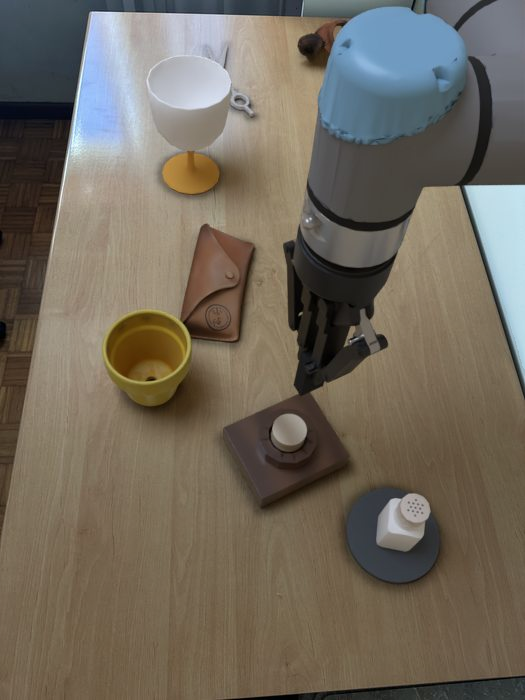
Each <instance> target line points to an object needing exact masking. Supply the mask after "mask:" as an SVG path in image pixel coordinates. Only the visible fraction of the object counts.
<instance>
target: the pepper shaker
mask: <svg viewBox="0 0 525 700" xmlns="http://www.w3.org/2000/svg"><path fill="white" fill-rule="evenodd" d="M430 512H431V506H430V503H429V501H428V500H427V499H426V498H425V497H424V496H423V495H420V494H419V493H415V492H414V493H409V494H408V495H406V496H405V497H403V498H402V499H398V498H394V499H391V500H390V501H389V502H388V504H387V505H386V506H385V508H384V509H383V510H382V512H381V513H380V514H379V516H378V524H377V536H376V542H377V545H379V546H380V547H385V548H390V549H395V550H400V551H405V552H406V551H409V550H410V549H411V548H412V547H413V546H414V545H415V544H416V543H417V542H418V541H419V540H421V539H422V537H423V535H424V528H425V521H426V520H427V519H428V517H429V514H430Z"/></svg>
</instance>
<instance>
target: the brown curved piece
mask: <svg viewBox="0 0 525 700" xmlns="http://www.w3.org/2000/svg"><path fill="white" fill-rule="evenodd" d="M347 22H349V20H345V19H337V20H335V21H333V22H332V21H331V22H326V23H324V24H322V25H321V26H319V27H318V28H317V29H316V30H315V31H314V33H307V34H305V35H302V36H301V37H299V39H298V42H297V45H296V46H297V49H298V51H299V53H300V54H301V55H302V56H304V57H305V58H306V59H307V60H308V62H310V63H311V62H313V60H314V58H315V56H316V54H317V53H319V52H320V51H321V50H322V48H324V50H326V52H328V54H329V55H330V53H331V49H332V46H333V43H334V41H335V38H334V37H335V36H334V31H335V28H337V27H340V29H342V27H343V26H344V25H345V24H346V23H347ZM323 46H324V47H323Z"/></svg>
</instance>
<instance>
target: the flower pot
mask: <svg viewBox="0 0 525 700" xmlns="http://www.w3.org/2000/svg"><path fill="white" fill-rule="evenodd" d="M192 344H193V343H192V337H190V334H189V332H188V330H187V328H186V327H185V325H184V324H183V323H182V322H181V321H180V318H178V317H176V316H175V315H173V314H172V313H170V312H167V311H165V310H160V309H155V308H154V309H153V308H142V309H137V310H133V311H129V312H128V313H126V314H124V315H122V316H120V317H119V318H117V320H115V321H114V322H113V323H112V324H111V325H110V327H109V328H108V330H107V331H106V333H105V334H104V337H103V340H102V346H101V354H102V360H103V364H104V368H105V370H106V373H107V375H108V377H109V379H110V380H111V381H112V382H113V384H115V385H116V386H117V387H118V388H119V389H121V390H122V391H124V392H125V393H126V394H127V395H128V397H129V398H130V400H131V401H133V402H135V403H136V404H138V405H141V406H144V407H156V406H161V405H163V404H165V403H167V402H168V401H169V400H170V399H171V398H172V397H173V396H174V395H175V393H176V391H177V389H178V386H179V384H181V382H183V380H184V379H185V378H186V376H187V374H188V373H189V370H190V368H191V363H192V357H193V355H192V354H193V345H192Z"/></svg>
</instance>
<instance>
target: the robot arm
mask: <svg viewBox="0 0 525 700" xmlns="http://www.w3.org/2000/svg"><path fill="white" fill-rule="evenodd" d="M419 1H420V5H421V11H422V14H420V13H416V12H414V11H413V10H412V8H410V7H406V6H382V7H377V8H371V9H369V10H365V11H364V12H361V13H359V14H357V15H355V16H354V17H352V18H351V19H349V20H348V22H347V23H346V24H345V25H344V26H343V27H342V26H341V27H342V28H340V30H339V31H338V33H337V35H336V37H335V38H334V40H335V41H334V43H333V46H332V49H331V53H330V54H329V56H328V59H327V63H326V67H325V70H324V71H325V72H324V76H323V80H322V85H321V86H320V89H319V92H318V96H317V102H316V103H317V115H316V121H315V129H314V136H313V143H312V149H311V155H310V156H311V157H310V163H309V168H308V173H307V179H306V186H305V191H304V196H303V200H302V201H303V202H302V207H301V213H300V219H299V224H298V227H297V232H296V238H294V239H291V240H288V241H286V242H283V244H282V249H283V254H284V259H285V264H286V288H287V290H286V291H287V323H288V328H289V329H290V330H291V332H297V337H296V343H297V346H298V350H297V355H296V356H297V360H298V363H297V366H296V367H297V368H296V372H295V376H294V381H293V384H292V385H293V387H294V388H295V390H296V392H297V393H298V394H299V395H300V396H303V395H305V394H307V393H309V392H310V393H311V392H313V391H316V390H318V389H320V388H322V387H324V385H325V383H326V384H329V383H331V382H333V381H336V380H338V379H340V378H342V377H344V376H346V375H349V374H350V373H352V372H353V371H354V370H355V369H356V368H357V367H358V366H359V365H360V364H361V363H362V362H363V361H365V360H366V359H367V358H368V357H370V356H372V355H374V354H377V353H379V352H380V351H383V350H385V349H387V348H388V347H389V342H388V339H387V337H386V336H385V335H384V334H382V333H377V332H376V330H375V329H374V327H373V325H372V322H371V320H372V319H373V317H374V315H375V298H377V296H378V294H379V293H380V292H381V290H382V289H383V288H384V287H385V285H386V284H387V281H388V280H389V277H390V274H391V273H392V269H393V267H394V264H395V261H396V258H397V257H398V253H399V250H400V248H401V246H402V244H403V241H404V238H405V235H406V233H407V231H408V227H409V225H410V223H411V219H412V216H413V214H414V212H415V211H414V210H415V209H416V205H417V202H418V201H419V199H420V196H421V194H422V192H423V190H424V188H440V187H441V188H442V187H447V188H448V187H467V186H468V187H469V186H470V187H471V186H472V187H473V186H477V187H478V186H525V0H419ZM351 327H354V332H353V333H352V337H350V338H348V336H349V333H350V330H351ZM346 343H347V345H345V344H346Z"/></svg>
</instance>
